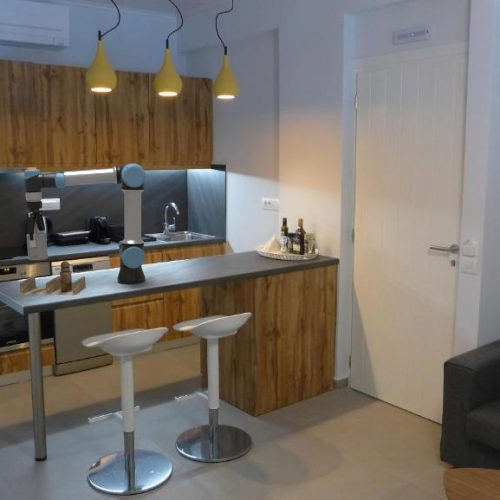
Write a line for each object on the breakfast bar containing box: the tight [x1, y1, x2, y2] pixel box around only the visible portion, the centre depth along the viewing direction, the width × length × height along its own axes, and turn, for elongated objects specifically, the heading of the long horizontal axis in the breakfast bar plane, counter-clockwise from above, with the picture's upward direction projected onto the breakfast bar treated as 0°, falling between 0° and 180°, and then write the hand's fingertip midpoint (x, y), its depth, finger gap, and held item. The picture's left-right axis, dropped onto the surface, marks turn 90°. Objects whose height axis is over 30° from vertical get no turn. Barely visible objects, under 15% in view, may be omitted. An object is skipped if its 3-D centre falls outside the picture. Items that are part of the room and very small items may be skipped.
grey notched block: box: [26, 232, 49, 261], centre depth 312 cm, size 10×10×12 cm
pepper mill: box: [59, 260, 73, 292], centre depth 315 cm, size 6×6×16 cm
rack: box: [19, 275, 87, 296], centre depth 316 cm, size 28×16×7 cm, turn 86°
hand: (37, 245), depth 312 cm, fingers closed on grey notched block, 9 cm apart
